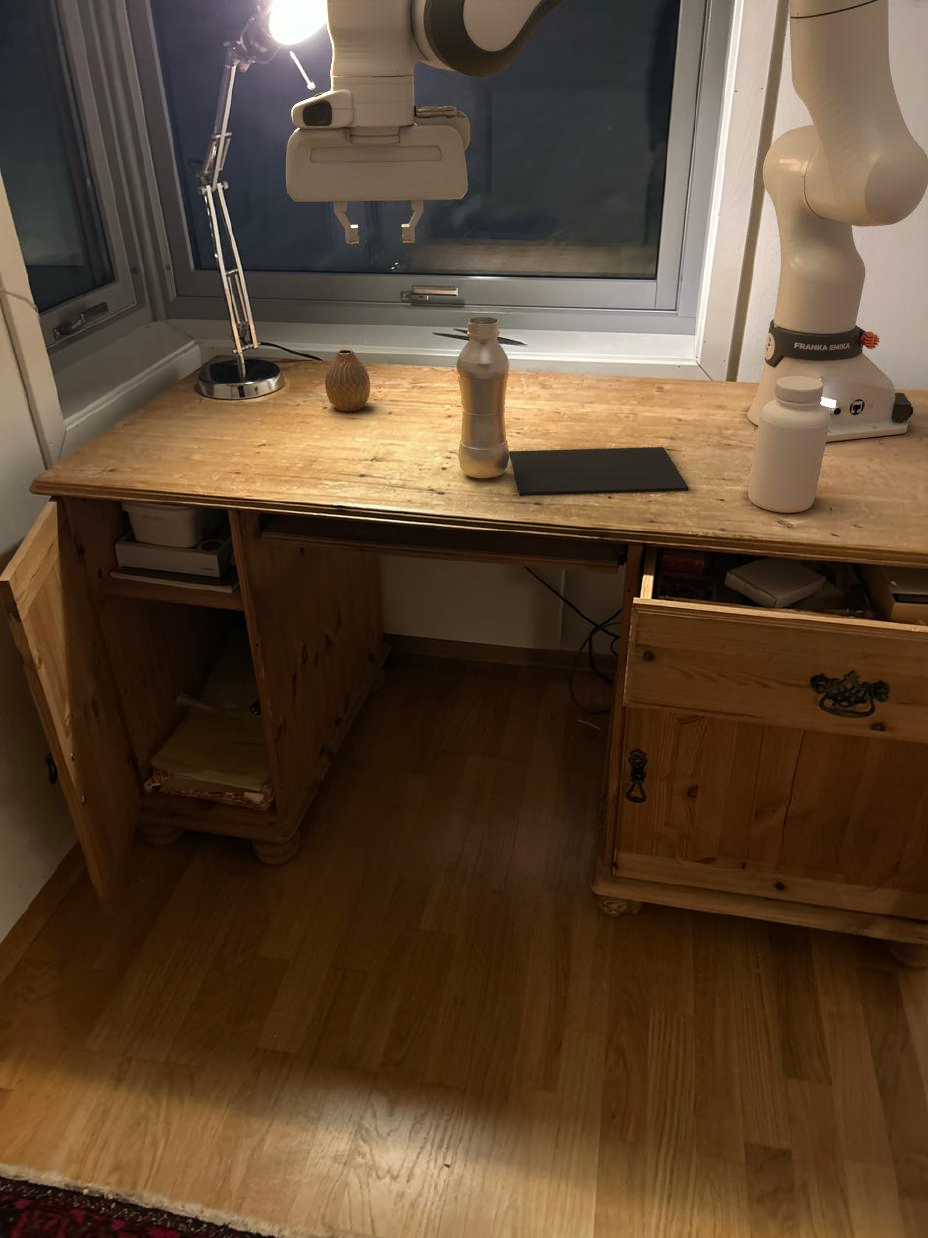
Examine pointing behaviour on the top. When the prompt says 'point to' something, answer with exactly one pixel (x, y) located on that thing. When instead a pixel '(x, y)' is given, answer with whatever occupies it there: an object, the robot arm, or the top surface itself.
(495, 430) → the plastic bottle
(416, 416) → the top surface
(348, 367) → the vase
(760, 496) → the pill bottle
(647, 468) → the mat
